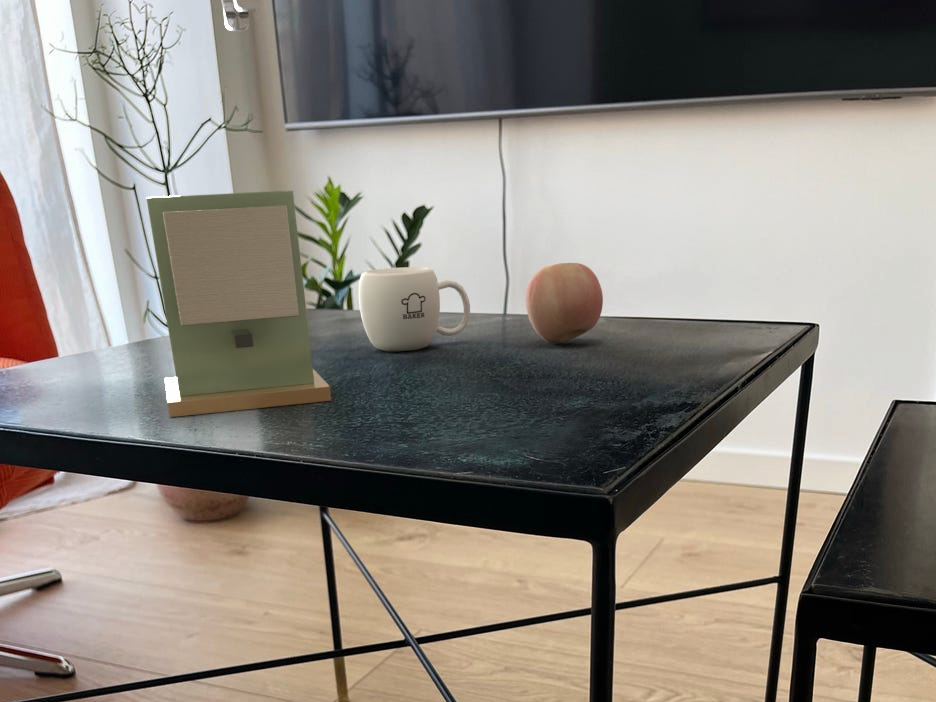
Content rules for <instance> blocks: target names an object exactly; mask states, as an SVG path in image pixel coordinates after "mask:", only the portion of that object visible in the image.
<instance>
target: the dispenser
mask: <svg viewBox="0 0 936 702" xmlns="http://www.w3.org/2000/svg"><path fill="white" fill-rule="evenodd" d="M145 200H146V204H147V211H148V216H149V221H150V222H149V223H150V228H151V229H150V230H151V234H152V242H153V246H154V253H155V258H156V265H157V271H158V276H159V282H160V287H161V294H162V295H161V296H162V301H163V306H164V313H165V318H166V324H167V330H168V336H169V342H170V349H171V354H172V360H173V367H174V371H175V373H174V374H175V376H174V377H173V376H172V377H165V378H164V384H165V391H166V392H165V393H166V402H167V403H166V405H167V409H168V415H169V418H176V417H177V418H179V417H187V416H188V417H189V416H197V415H207V414H215V413H225V412H226V413H227V412H235V411H236V412H237V411H245V410H255V409H264V408H274V407H284V406H293V405H294V406H295V405H303V404H312V403H313V404H314V403H322V402H332V391H331V390H332V389H331V386H330V385H329V384H328V383H327V381H326V380H325V379H324V378H323V377H322V376H321V375H320V374H319V373H318V372H317V371H316V370H315V369H314V366H313V358H312V350H311V349H312V348H311V339H310V331H309V321H308V313H307V305H306V304H307V303H306V297H305V296H306V295H305V287H304V285H305V284H304V277H303V268H302V260H301V259H302V258H301V252H300V242H299V233H298V225H297V223H298V222H297V214H296V207H295V197H294V190H291V189H289V190H288V189H287V190H267V191H265V190H264V191H248V192H246V191H245V192H244V191H243V192H227V193H208V194H207V193H206V194H187V195H169V196H165V195H164V196H150V197H149V196H148V197H146V199H145ZM281 205H286V207H287V216H288V225H289V233H290V242H291V251H292V259H293V268H294V277H295V285H296V294H297V303H298V312H299V316H293V317H281V318H268V319H256V320H244V321H232V322H219V323H207V324H195V325H181V322H180V316H179V310H178V303H177V297H176V291H175V285H174V279H173V272H172V266H171V260H170V254H169V248H168V242H167V235H166V229H165V223H164V217H163V212H170V211H189V210H207V209H225V208H244V207H262V206H281Z"/></svg>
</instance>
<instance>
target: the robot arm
mask: <svg viewBox="0 0 936 702" xmlns="http://www.w3.org/2000/svg"><path fill="white" fill-rule="evenodd" d="M220 1H221V5H222V6H221V7H222V13H223V20H224V26H225V28H226V29H227V30H228V31H230V32H245V31H246V30H248V28H249V27H250V24H251V23H250V13H256V12H258V11H259V9H260V8H261V7H262V6H263V5H262V4H263V0H220Z"/></svg>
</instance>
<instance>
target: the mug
mask: <svg viewBox="0 0 936 702" xmlns="http://www.w3.org/2000/svg"><path fill="white" fill-rule="evenodd" d="M434 271H435V270H434V269H431V268H430V267H423V266H421V267H420V266H411V267H410V266H408V267H406V266H405V267H404V266H403V267H390V268H389V267H388V268H378V269H377V268H376V269H370V270H365V271H364V272H362V273H361V275H360V278H359V281H358V304H359V305H358V306H359V312H360V316H361V320H362V324H363V325H362V326H363V327H364V330H365V333H366V335H367V338H368V340H369V341H370V343H371V344H372V345H373V346H374V347H375V348H376V349H377V350H380V351H384V352H411V351H418V350H422V349H424V348H426V347H429V346H430V345H431V344H432V342H433V341H434V339H435V337H436V334H437V333H438V334H440V335H443V336H448V337H452V336H456V335H458V334H460V333H461V332H463V331H464V330H465V328H466V327H467V325H468V324H469V320H470V316H471V304H470V298H469V296H468V294H467V292H466V290H465V288H464V287H463V286H462V285H461V284H460V283H459V282H457V281H455V280H449V279H446V280H443V281H440V282H438V278H437V275H436V273H435V272H434ZM447 288H451V289H454V290H455V291H456V292H457V293H458V294H459V297H460V298H461V301H462V305H463V313H462V314H463V315H462V319H461V321H460V323H459V324H458V325H457V326H456V327H453V328H445V327H443V326H441V325H439V320H440V313H441V312H440V311H441V297H440V290H443V289H447Z"/></svg>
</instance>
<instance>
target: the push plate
mask: <svg viewBox="0 0 936 702" xmlns="http://www.w3.org/2000/svg"><path fill="white" fill-rule="evenodd" d="M163 217H164V223H165V229H166V235H167V242H168V248H169V254H170V260H171V266H172V272H173V279H174V285H175V291H176V297H177V303H178V310H179V316H180V322H181V325H195V324H207V323H219V322H232V321H244V320H256V319H268V318H281V317H293V316H299V312H298V303H297V294H296V285H295V277H294V268H293V259H292V251H291V242H290V233H289V225H288V216H287V207H286V205H281V206H262V207H244V208H225V209H207V210H189V211H170V212H163Z"/></svg>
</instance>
